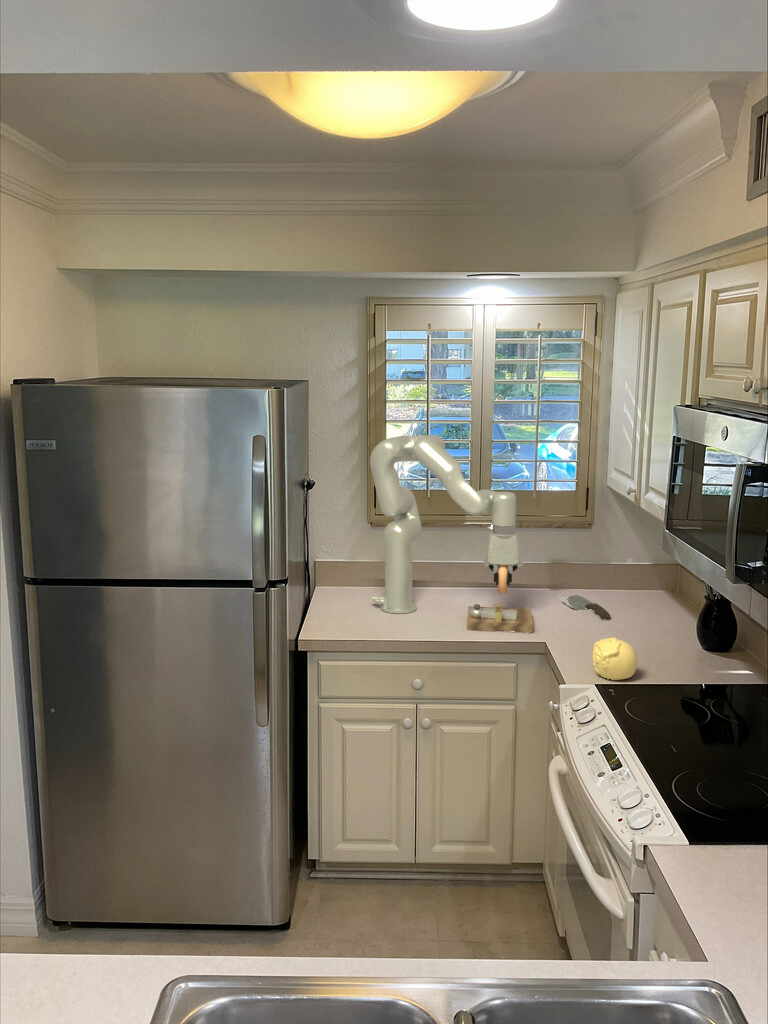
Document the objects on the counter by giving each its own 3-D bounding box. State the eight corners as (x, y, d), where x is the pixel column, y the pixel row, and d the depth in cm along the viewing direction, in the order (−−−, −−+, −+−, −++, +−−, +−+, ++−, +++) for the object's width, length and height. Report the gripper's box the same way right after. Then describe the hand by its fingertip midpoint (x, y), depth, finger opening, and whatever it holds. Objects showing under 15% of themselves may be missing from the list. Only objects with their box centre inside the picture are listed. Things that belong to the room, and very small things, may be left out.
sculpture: (587, 668, 237) (588, 632, 235) (629, 668, 237) (631, 632, 235) (596, 684, 226) (598, 645, 224) (641, 684, 226) (643, 646, 224)
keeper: (494, 621, 269) (494, 608, 269) (494, 615, 276) (494, 602, 275) (502, 622, 269) (502, 608, 268) (501, 616, 275) (502, 603, 275)
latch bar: (469, 617, 273) (469, 610, 273) (470, 613, 277) (470, 606, 277) (516, 620, 270) (516, 613, 269) (517, 616, 274) (517, 609, 274)
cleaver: (617, 620, 282) (617, 614, 282) (590, 622, 280) (590, 616, 280) (577, 597, 310) (578, 592, 310) (553, 599, 308) (553, 593, 308)
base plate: (466, 630, 270) (467, 609, 269) (468, 614, 287) (468, 595, 286) (532, 633, 268) (533, 612, 266) (530, 617, 284) (530, 597, 283)
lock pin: (497, 592, 275) (498, 563, 273) (497, 590, 278) (498, 561, 277) (507, 593, 275) (508, 563, 273) (507, 590, 278) (507, 561, 276)
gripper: (478, 531, 270) (477, 586, 273) (529, 532, 268) (528, 588, 271) (478, 527, 278) (477, 580, 281) (528, 528, 276) (527, 582, 279)
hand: (502, 583), depth 276 cm, fingers closed on lock pin, 3 cm apart
